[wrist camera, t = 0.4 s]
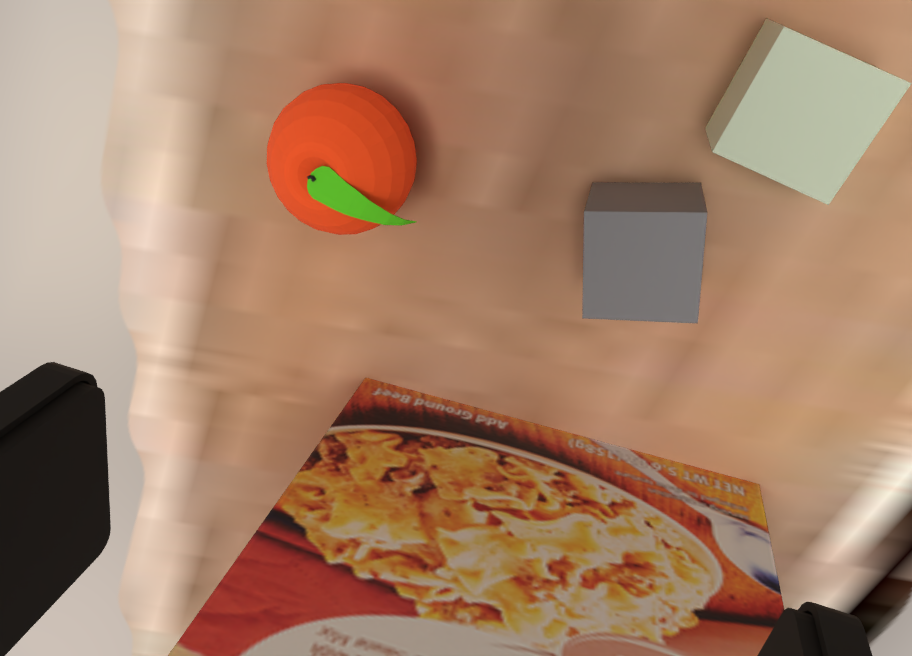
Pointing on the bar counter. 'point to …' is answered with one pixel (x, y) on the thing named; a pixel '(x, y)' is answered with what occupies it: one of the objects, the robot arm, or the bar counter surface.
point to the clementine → (342, 159)
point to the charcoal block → (644, 251)
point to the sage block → (801, 111)
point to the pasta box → (493, 547)
